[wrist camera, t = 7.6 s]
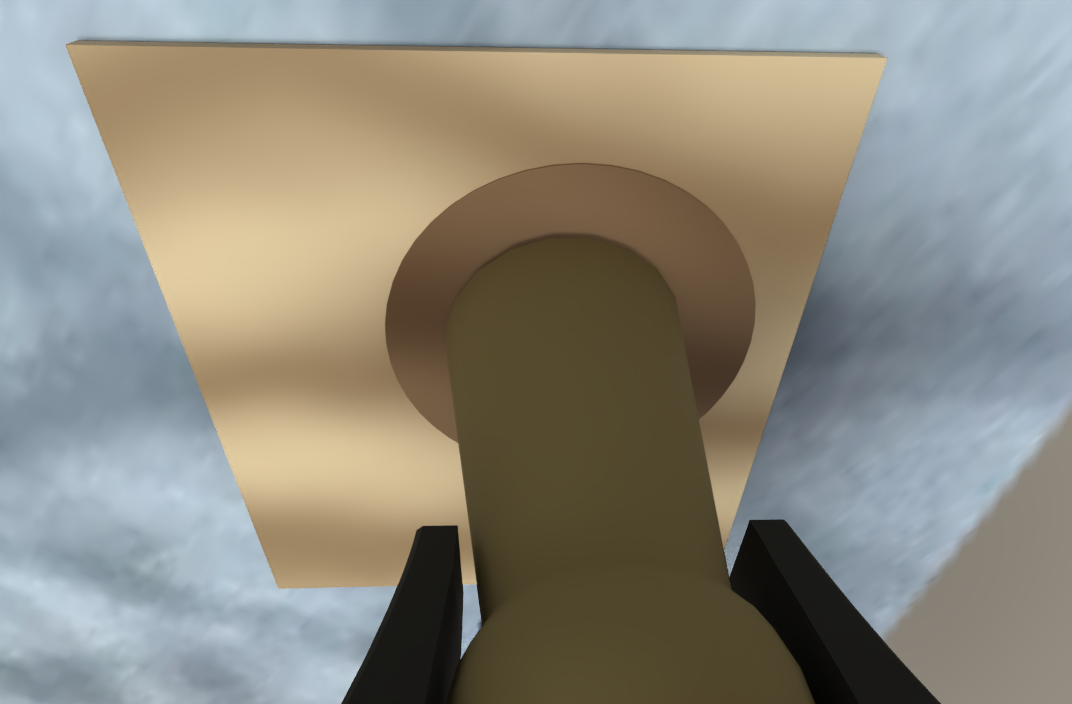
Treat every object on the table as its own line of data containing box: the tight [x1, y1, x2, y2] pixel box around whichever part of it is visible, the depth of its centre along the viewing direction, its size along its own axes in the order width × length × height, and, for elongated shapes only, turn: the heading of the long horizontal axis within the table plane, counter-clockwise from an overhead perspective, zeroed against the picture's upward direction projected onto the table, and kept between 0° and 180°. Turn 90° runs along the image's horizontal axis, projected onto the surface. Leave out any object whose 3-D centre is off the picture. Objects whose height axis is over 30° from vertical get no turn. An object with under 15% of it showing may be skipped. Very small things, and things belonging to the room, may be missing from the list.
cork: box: [445, 238, 815, 704], centre depth 12 cm, size 6×6×11 cm
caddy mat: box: [66, 41, 887, 588], centre depth 18 cm, size 18×16×1 cm
